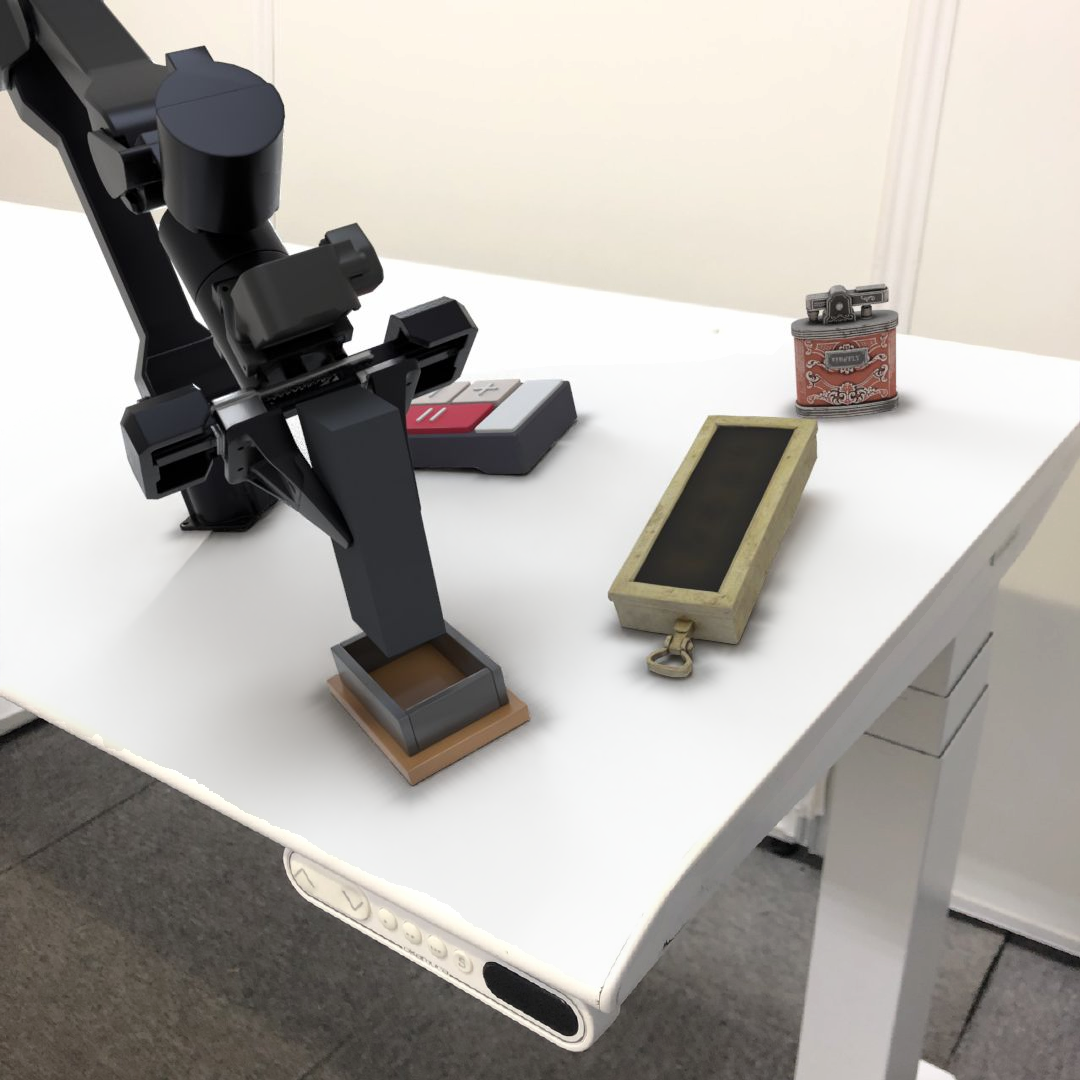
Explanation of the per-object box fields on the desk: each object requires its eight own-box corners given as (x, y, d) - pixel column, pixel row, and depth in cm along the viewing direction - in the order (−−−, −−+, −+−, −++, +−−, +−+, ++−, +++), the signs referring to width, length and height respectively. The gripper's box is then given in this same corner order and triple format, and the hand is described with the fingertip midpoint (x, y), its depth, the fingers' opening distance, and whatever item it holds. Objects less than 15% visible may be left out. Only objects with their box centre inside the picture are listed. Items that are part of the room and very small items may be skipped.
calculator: (425, 378, 96) (569, 371, 89) (437, 420, 98) (579, 416, 91) (361, 429, 88) (514, 426, 81) (375, 474, 90) (526, 474, 83)
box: (826, 472, 72) (819, 412, 69) (736, 716, 58) (722, 654, 55) (713, 467, 76) (702, 411, 73) (602, 694, 62) (582, 635, 59)
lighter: (796, 420, 84) (790, 301, 79) (794, 403, 86) (788, 287, 81) (901, 411, 82) (901, 288, 77) (895, 394, 85) (895, 274, 80)
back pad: (352, 619, 58) (294, 404, 52) (407, 596, 59) (358, 383, 53) (388, 658, 54) (331, 431, 48) (447, 632, 56) (399, 408, 49)
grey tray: (330, 692, 62) (314, 645, 61) (437, 638, 65) (425, 592, 64) (412, 786, 54) (396, 735, 52) (531, 719, 57) (519, 668, 55)
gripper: (46, 241, 45) (205, 546, 42) (421, 138, 52) (579, 389, 49) (80, 373, 55) (210, 626, 51) (391, 270, 62) (521, 486, 59)
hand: (384, 530), depth 53 cm, fingers closed on back pad, 3 cm apart
